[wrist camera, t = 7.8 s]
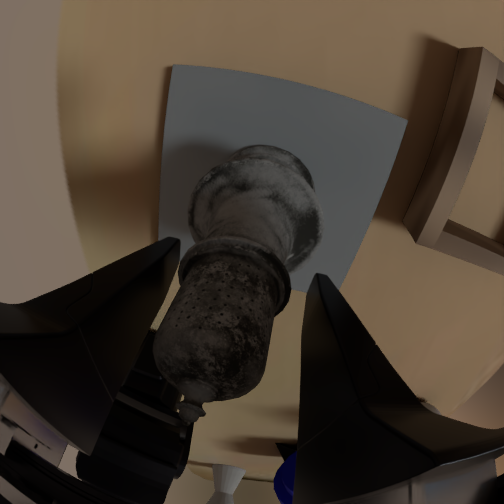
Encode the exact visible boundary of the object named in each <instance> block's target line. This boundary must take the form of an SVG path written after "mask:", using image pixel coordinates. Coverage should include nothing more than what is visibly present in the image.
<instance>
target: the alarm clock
mask: <svg viewBox="0 0 504 504" xmlns="http://www.w3.org/2000/svg"><path fill="white" fill-rule="evenodd" d="M276 445H277V447H278V449H279V451H280V453H281V455H282V457H283V459H284V461H285V462H284V463H283V464H282V465H281V466H280V468H279V469H278V470H277V472H276V475H275V477H274V490H275V492H276V494H277V497H278V499H279V501H280V503H281V504H292V501H293V491H294V480H295V468H296V455H297V451H295V450H293V449H290V448H288V447H285V446H283V445H280V444H278V443H276Z"/></svg>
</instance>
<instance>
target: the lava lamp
mask: <svg viewBox="0 0 504 504" xmlns="http://www.w3.org/2000/svg"><path fill="white" fill-rule="evenodd" d="M212 468H213V477H214V486H215V492H214V494H213V496H212V497H211V498H210V500H209V501H208V502H207V504H234V501H233V496H232V494H233V492H234V491H235V489H236V487H237V486H238V484H239V482H240V480H241V479H242V477H243V475H244V474H245V472H246V471H245V470H244V469H241V468H238V467H234V466H229V465H221V464H213V465H212Z"/></svg>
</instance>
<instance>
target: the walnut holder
mask: <svg viewBox="0 0 504 504" xmlns="http://www.w3.org/2000/svg"><path fill="white" fill-rule="evenodd" d="M493 92H495V93H496V94H497V95H499V96H500V97H501V98H502V99H504V63H503V62H502V61H501V60H499V59H498V58H497V57H496V56H494V55H493V54H492V53H491V52H489V51H488V50H487V49H485V48H484V47H472V48H460V49H459V52H458V57H457V62H456V67H455V72H454V76H453V80H452V84H451V88H450V92H449V96H448V100H447V103H446V107H445V110H444V114H443V117H442V120H441V123H440V127H439V130H438V133H437V136H436V139H435V142H434V145H433V148H432V150H431V153H430V156H429V159H428V161H427V164H426V167H425V169H424V172H423V175H422V177H421V180H420V182H419V185H418V187H417V189H416V192H415V194H414V197H413V199H412V201H411V204H410V206H409V208H408V210H407V213H406V215H405V217H404V219H403V223H404V225H405V226H406V228H407V229H408V231H409V233H410V234H411V236H412V238H413V239H414V241H415V243H416V244H419V245H422V246H425V247H428V248H431V249H434V250H437V251H440V252H442V253H445V254H448V255H451V256H454V257H457V258H459V259H462V260H465V261H467V262H470V263H473V264H475V265H478V266H481V267H483V268H486V269H488V270H491V271H494V272H496V273H499V274H501V275H504V245H502V244H500V243H498V242H496V241H494V240H492V239H490V238H488V237H486V236H484V235H482V234H480V233H478V232H476V231H473V230H471V229H469V228H467V227H465V226H462V225H460V224H458V223H456V222H453V221H451V220H449V219H448V218H449V216H450V214H451V211H452V209H453V207H454V205H455V203H456V201H457V198H458V196H459V194H460V191H461V189H462V187H463V184H464V182H465V180H466V177H467V175H468V172H469V170H470V167H471V164H472V162H473V159H474V156H475V153H476V151H477V148H478V145H479V142H480V139H481V136H482V132H483V129H484V126H485V122H486V119H487V115H488V112H489V108H490V104H491V100H492V96H493Z"/></svg>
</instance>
